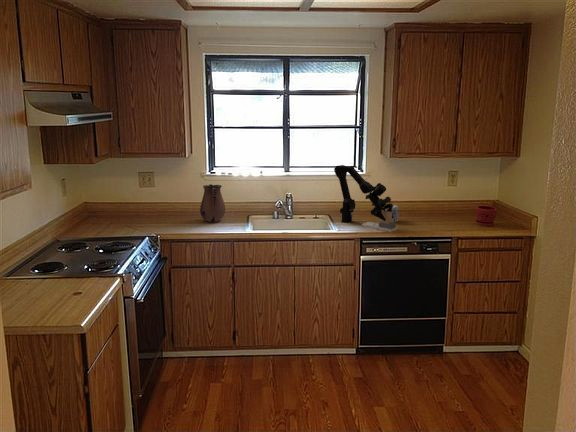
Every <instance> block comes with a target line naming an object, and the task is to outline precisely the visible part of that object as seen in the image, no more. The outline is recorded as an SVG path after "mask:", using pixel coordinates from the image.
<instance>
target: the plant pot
mask: <svg viewBox="0 0 576 432" xmlns="http://www.w3.org/2000/svg"><path fill="white" fill-rule="evenodd" d="M497 212H498V208H496V207H494V206H490V205H477V206H476V208H475V218H476V220H475V223H476V224H477V225H479V226H483V227H491V226H493V225H494V224H495V220H496V217H497Z"/></svg>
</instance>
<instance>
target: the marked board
mask: <svg viewBox="0 0 576 432" xmlns="http://www.w3.org/2000/svg"><path fill="white" fill-rule="evenodd" d="M361 226H362V227H364V228H369V229H373V228H374V229H373V230H378V229H379V231H382V232H383V231H385V232H387V233H388V232H389V233H392V232H394V231H398V227H397V226H396V228H393V229H387V228H382V227H379V223H377V222H372V221H367V222H365V223H361Z"/></svg>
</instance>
